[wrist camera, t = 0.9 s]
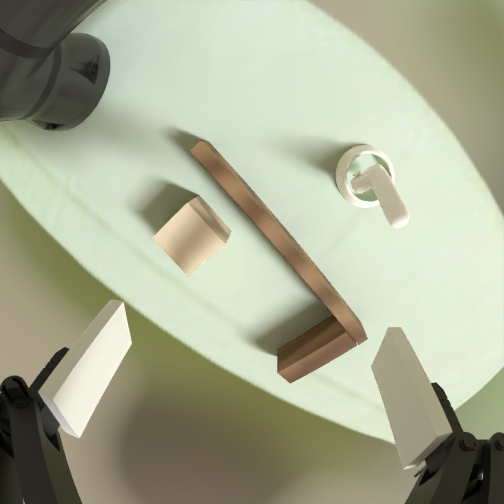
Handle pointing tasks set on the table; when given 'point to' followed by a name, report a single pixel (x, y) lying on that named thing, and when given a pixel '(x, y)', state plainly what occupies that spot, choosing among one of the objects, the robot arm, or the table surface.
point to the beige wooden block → (193, 235)
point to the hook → (372, 185)
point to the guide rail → (343, 319)
